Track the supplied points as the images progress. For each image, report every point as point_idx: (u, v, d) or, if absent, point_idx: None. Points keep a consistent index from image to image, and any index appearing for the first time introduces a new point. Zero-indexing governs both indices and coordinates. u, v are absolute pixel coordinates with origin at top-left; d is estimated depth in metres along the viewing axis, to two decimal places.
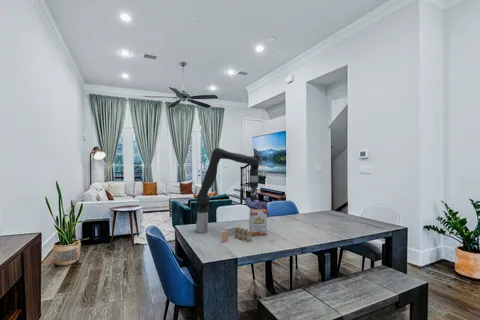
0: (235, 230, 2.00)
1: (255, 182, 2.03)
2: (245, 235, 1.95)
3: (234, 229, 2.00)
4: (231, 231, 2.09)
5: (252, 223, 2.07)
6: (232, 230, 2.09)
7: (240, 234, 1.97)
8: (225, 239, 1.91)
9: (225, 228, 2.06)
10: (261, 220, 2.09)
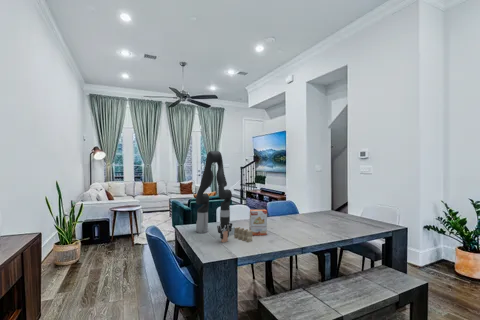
0: (235, 230, 2.00)
1: None
2: (245, 235, 1.95)
3: (234, 229, 2.00)
4: (231, 231, 2.09)
5: (252, 223, 2.07)
6: (232, 230, 2.09)
7: (240, 234, 1.97)
8: (225, 239, 1.91)
9: None
10: (261, 220, 2.08)
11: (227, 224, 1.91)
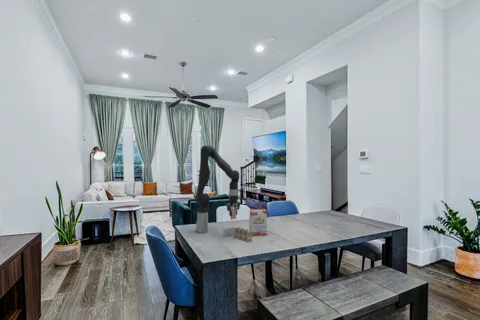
0: (235, 230, 2.00)
1: None
2: (245, 235, 1.95)
3: (234, 229, 2.01)
4: (231, 231, 2.09)
5: (252, 223, 2.07)
6: (232, 230, 2.09)
7: (240, 234, 1.97)
8: (234, 216, 2.04)
9: (225, 228, 2.06)
10: (261, 220, 2.08)
11: (235, 202, 2.04)
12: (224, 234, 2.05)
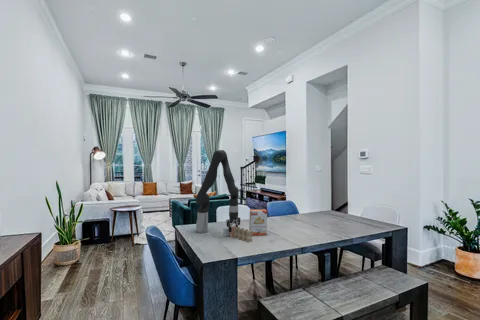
0: (235, 230, 2.00)
1: None
2: (245, 235, 1.94)
3: (234, 229, 2.01)
4: None
5: (252, 223, 2.07)
6: None
7: (240, 234, 1.97)
8: None
9: (225, 228, 2.06)
10: (261, 220, 2.08)
11: (235, 219, 2.05)
12: (224, 234, 2.05)
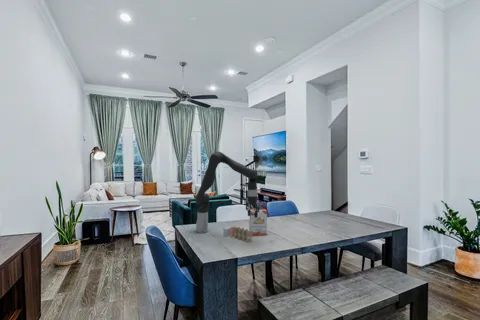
0: (235, 230, 2.00)
1: None
2: (245, 235, 1.94)
3: (234, 229, 2.00)
4: None
5: (252, 223, 2.07)
6: None
7: (240, 234, 1.97)
8: None
9: (225, 228, 2.06)
10: (261, 220, 2.09)
11: None
12: (224, 234, 2.05)
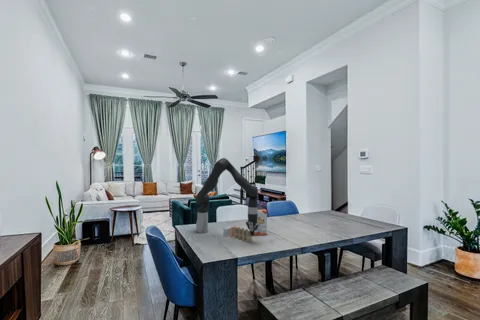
0: (235, 230, 2.00)
1: None
2: (245, 235, 1.95)
3: (234, 229, 2.01)
4: None
5: None
6: None
7: (240, 234, 1.97)
8: None
9: (225, 228, 2.06)
10: (261, 220, 2.08)
11: None
12: (224, 234, 2.05)
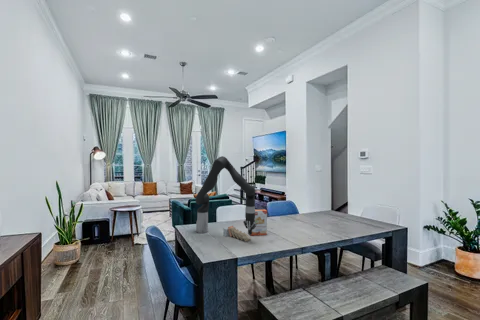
0: (231, 230, 2.03)
1: None
2: None
3: (230, 230, 2.04)
4: None
5: None
6: None
7: None
8: None
9: (225, 228, 2.06)
10: (261, 220, 2.08)
11: None
12: (224, 234, 2.05)
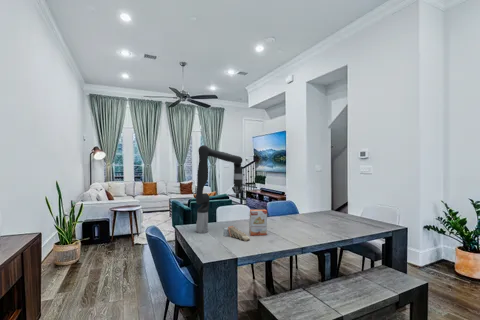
0: (231, 229, 2.03)
1: None
2: None
3: None
4: None
5: (252, 223, 2.07)
6: None
7: None
8: None
9: (225, 228, 2.06)
10: (261, 220, 2.08)
11: None
12: (224, 234, 2.05)
